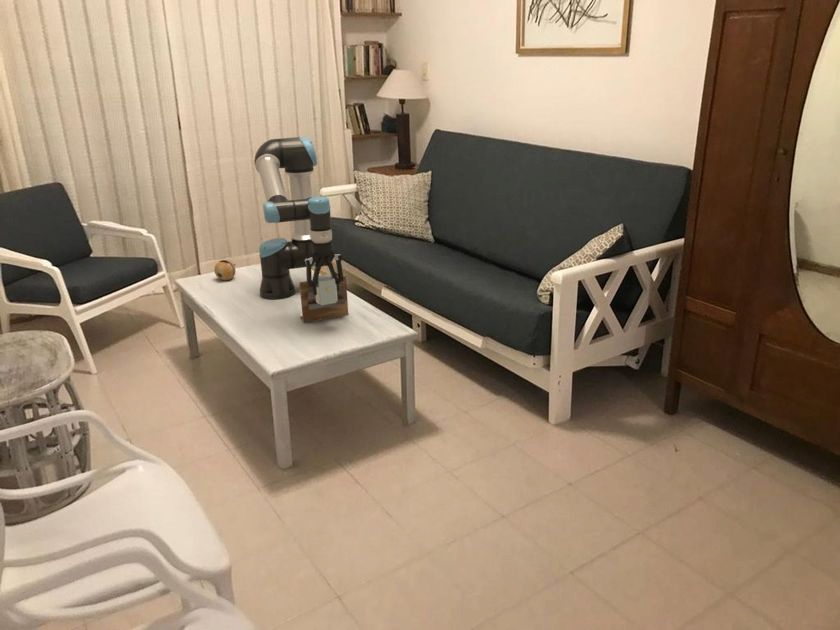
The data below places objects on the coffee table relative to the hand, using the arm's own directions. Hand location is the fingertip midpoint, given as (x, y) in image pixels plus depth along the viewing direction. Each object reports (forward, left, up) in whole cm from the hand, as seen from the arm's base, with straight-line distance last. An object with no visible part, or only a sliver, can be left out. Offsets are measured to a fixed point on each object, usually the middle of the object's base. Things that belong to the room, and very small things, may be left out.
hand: (326, 301), depth 254 cm
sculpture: (-78, -24, -11) cm, 83 cm away
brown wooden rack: (-10, +2, -11) cm, 15 cm away
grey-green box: (0, 0, 0) cm, 0 cm away
